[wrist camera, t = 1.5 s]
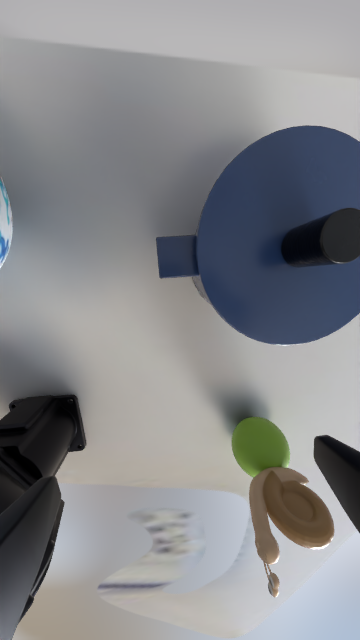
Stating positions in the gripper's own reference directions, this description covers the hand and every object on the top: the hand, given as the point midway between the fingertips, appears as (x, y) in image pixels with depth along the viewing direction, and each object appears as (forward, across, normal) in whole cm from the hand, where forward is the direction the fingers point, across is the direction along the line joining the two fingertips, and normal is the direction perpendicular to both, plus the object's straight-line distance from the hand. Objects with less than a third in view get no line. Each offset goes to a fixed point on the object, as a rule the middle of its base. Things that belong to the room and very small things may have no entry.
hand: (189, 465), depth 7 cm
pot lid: (+6, -8, -7) cm, 12 cm away
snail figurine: (+14, -7, +11) cm, 19 cm away
